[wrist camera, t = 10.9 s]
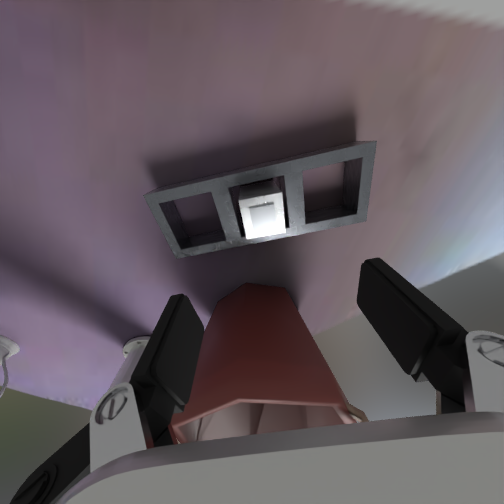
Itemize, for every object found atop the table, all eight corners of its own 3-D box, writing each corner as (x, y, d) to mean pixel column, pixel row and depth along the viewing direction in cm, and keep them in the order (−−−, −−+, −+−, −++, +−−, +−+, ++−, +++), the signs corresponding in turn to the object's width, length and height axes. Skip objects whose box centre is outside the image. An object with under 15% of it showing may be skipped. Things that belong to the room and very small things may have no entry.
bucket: (218, 350, 44) (191, 543, 23) (176, 284, 33) (47, 545, 12) (318, 332, 42) (394, 532, 20) (309, 254, 30) (461, 520, 9)
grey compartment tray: (356, 141, 22) (376, 140, 18) (350, 211, 26) (366, 221, 23) (157, 188, 24) (143, 195, 21) (184, 245, 29) (176, 258, 25)
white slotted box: (276, 212, 26) (286, 233, 20) (246, 217, 27) (246, 240, 20) (273, 180, 24) (282, 193, 18) (240, 186, 24) (238, 201, 18)
